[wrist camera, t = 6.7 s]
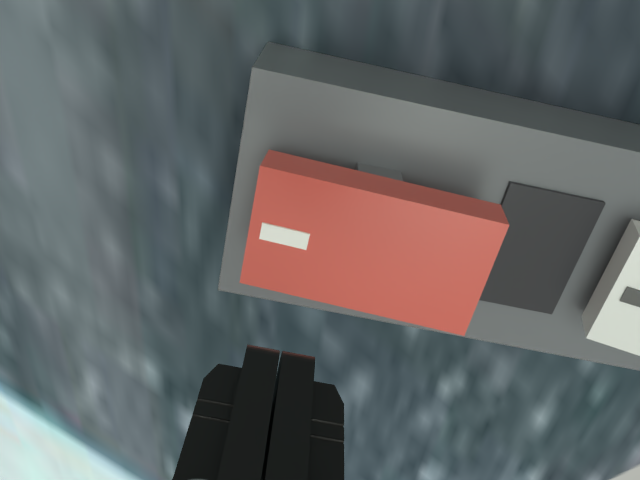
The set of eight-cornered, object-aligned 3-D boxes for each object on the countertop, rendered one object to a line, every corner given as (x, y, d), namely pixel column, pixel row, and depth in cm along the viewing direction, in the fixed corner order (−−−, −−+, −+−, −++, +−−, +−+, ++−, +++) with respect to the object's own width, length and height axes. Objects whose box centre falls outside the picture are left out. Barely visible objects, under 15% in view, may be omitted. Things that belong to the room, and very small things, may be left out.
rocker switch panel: (787, 157, 26) (903, 217, 20) (685, 322, 30) (760, 407, 25) (267, 41, 24) (248, 73, 19) (236, 233, 28) (212, 303, 23)
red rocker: (500, 204, 20) (509, 225, 18) (459, 310, 22) (464, 337, 20) (268, 149, 20) (259, 166, 18) (249, 260, 22) (239, 283, 20)
